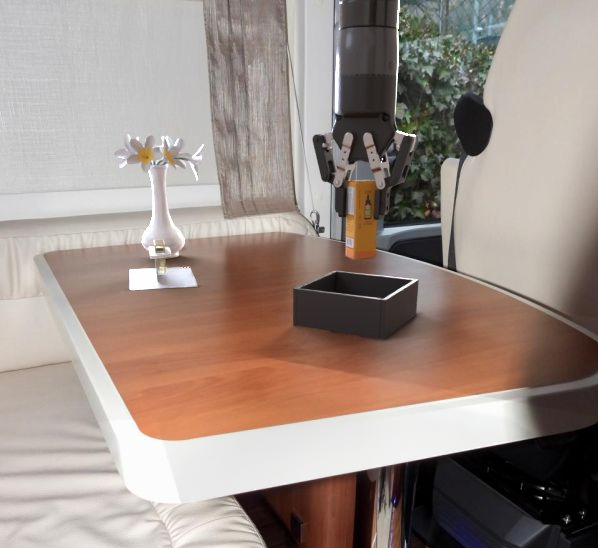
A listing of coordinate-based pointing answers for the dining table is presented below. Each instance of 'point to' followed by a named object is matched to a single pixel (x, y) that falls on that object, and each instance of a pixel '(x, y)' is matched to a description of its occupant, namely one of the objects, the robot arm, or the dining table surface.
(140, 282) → the platform
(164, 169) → the flower vase
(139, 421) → the dining table surface
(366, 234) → the supplement box
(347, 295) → the basket
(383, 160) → the robot arm
